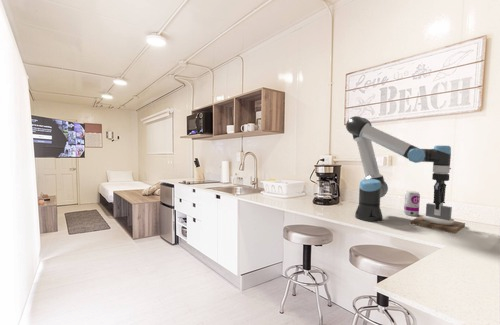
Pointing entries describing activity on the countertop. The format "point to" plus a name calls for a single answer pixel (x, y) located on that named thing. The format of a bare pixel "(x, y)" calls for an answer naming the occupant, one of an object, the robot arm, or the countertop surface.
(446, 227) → the dial base
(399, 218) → the countertop surface
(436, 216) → the dial
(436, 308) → the countertop surface
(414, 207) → the supplement can
